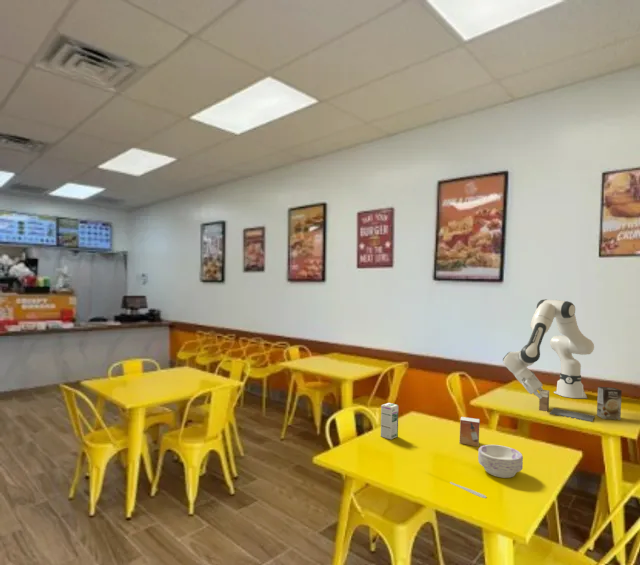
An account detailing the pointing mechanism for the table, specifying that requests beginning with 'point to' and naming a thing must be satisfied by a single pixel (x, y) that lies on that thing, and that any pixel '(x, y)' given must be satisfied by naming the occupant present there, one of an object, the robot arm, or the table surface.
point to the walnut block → (544, 400)
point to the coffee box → (609, 403)
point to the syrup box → (389, 420)
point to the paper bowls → (500, 460)
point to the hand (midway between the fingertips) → (543, 396)
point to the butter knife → (470, 491)
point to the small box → (469, 431)
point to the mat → (572, 414)
